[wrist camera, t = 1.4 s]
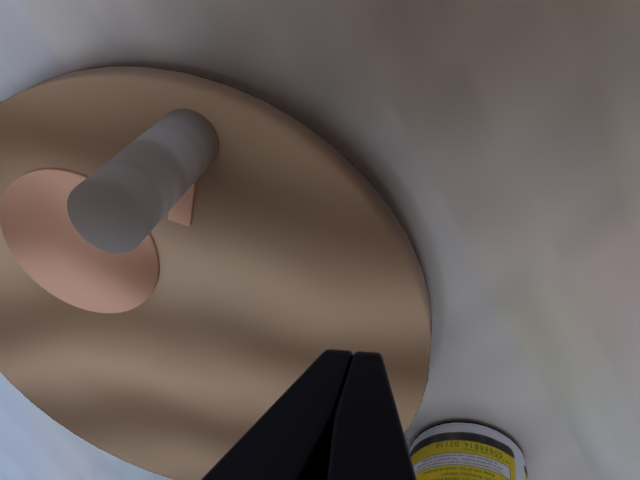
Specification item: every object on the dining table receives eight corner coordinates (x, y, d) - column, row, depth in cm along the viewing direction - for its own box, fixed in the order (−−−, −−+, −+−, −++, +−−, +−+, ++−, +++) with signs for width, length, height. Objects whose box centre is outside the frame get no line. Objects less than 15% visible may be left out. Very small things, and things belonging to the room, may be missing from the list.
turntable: (432, 490, 27) (425, 641, 22) (62, 442, 32) (-18, 555, 27) (430, 46, 16) (412, 131, 11) (-135, 81, 21) (-339, 150, 16)
